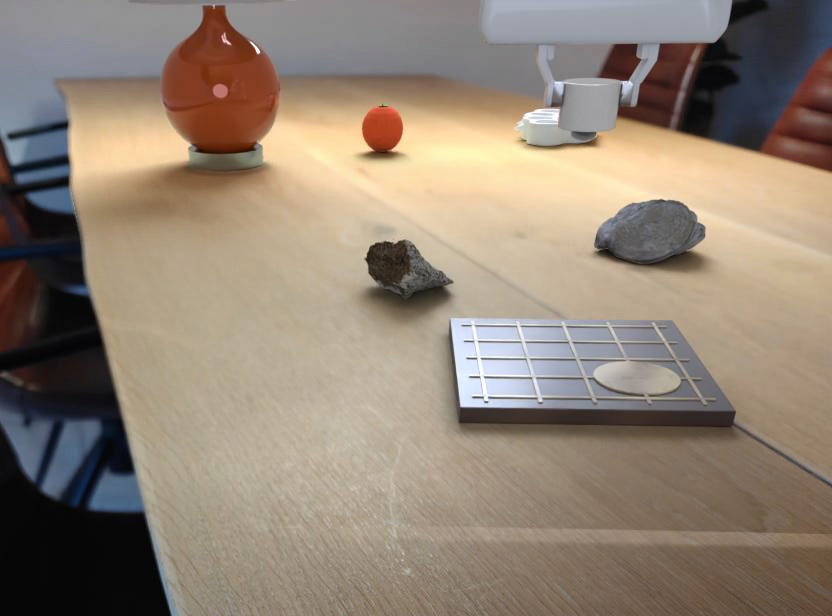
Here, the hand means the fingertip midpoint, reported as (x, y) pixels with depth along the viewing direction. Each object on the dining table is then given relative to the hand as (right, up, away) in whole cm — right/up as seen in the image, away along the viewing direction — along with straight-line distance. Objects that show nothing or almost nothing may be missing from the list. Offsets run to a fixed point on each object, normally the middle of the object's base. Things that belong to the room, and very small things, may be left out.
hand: (589, 106), depth 79 cm
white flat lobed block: (+16, +44, +85) cm, 98 cm away
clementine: (-16, +37, +76) cm, 86 cm away
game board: (-2, -25, -4) cm, 25 cm away
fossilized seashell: (+13, -3, +24) cm, 28 cm away
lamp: (-41, +31, +68) cm, 85 cm away
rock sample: (-15, -11, +14) cm, 23 cm away
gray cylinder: (0, -1, +1) cm, 2 cm away
